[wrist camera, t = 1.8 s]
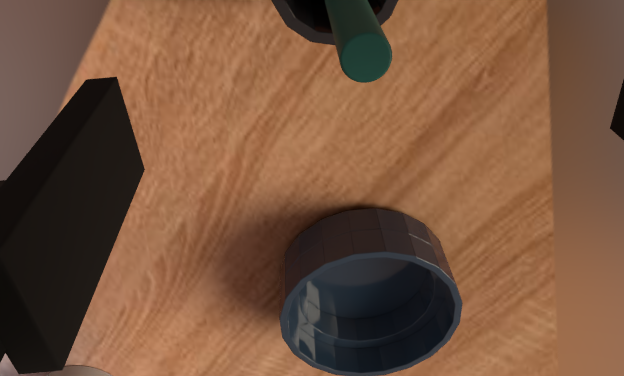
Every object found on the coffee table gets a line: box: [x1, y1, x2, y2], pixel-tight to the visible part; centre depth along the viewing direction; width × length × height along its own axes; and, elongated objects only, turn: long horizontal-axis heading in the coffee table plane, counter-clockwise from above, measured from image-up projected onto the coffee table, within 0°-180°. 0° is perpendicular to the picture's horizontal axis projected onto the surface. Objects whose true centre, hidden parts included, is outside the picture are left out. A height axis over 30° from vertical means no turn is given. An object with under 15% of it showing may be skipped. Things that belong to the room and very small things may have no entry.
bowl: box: [279, 208, 462, 376], centre depth 45 cm, size 15×15×6 cm
